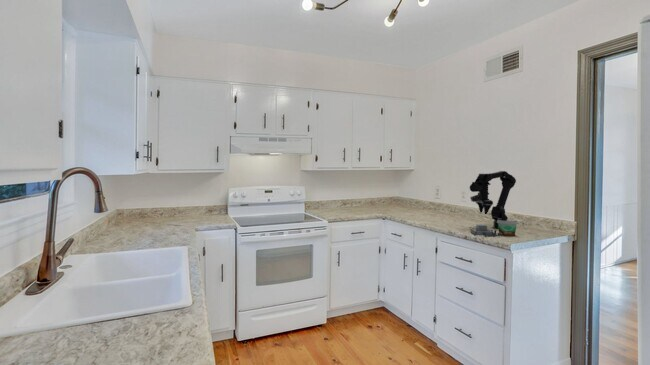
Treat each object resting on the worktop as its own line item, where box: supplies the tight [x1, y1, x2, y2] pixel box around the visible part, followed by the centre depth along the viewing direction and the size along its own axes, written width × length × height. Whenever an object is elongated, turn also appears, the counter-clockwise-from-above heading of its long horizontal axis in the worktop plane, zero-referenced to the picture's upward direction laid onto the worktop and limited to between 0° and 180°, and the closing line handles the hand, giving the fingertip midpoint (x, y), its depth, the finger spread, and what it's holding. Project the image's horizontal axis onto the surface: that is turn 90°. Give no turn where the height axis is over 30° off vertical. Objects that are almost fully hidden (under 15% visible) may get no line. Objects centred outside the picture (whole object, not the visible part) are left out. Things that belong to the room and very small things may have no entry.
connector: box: [475, 223, 488, 231], centre depth 210 cm, size 5×5×6 cm
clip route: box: [481, 229, 501, 238], centre depth 206 cm, size 11×11×2 cm
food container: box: [497, 219, 519, 237], centre depth 204 cm, size 12×6×10 cm, turn 80°
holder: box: [470, 228, 494, 236], centre depth 210 cm, size 11×10×2 cm
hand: (483, 213), depth 222 cm, fingers open, 9 cm apart
